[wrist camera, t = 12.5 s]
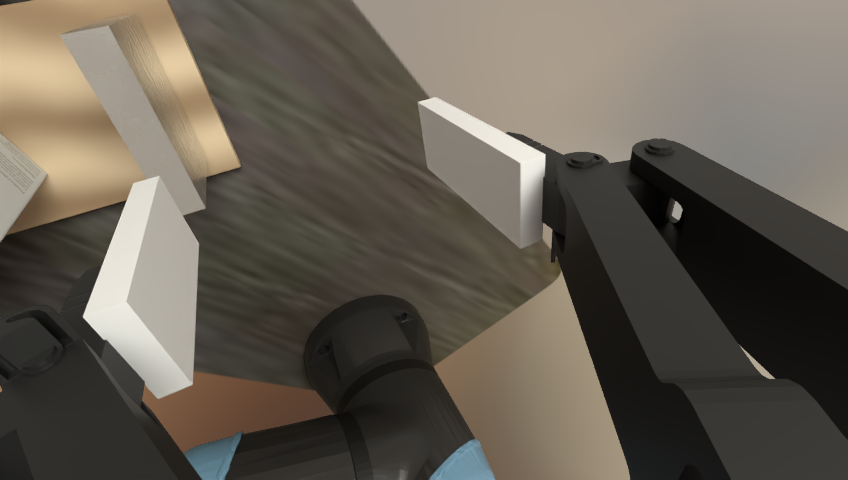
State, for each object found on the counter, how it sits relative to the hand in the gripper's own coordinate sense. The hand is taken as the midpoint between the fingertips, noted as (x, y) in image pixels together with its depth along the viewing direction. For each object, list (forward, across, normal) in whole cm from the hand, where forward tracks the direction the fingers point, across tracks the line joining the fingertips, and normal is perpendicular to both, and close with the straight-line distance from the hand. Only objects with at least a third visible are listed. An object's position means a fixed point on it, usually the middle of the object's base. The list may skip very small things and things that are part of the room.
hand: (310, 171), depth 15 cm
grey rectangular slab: (+20, +7, 0) cm, 21 cm away
